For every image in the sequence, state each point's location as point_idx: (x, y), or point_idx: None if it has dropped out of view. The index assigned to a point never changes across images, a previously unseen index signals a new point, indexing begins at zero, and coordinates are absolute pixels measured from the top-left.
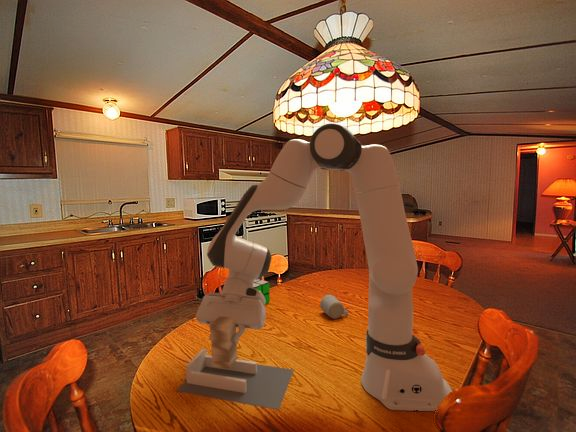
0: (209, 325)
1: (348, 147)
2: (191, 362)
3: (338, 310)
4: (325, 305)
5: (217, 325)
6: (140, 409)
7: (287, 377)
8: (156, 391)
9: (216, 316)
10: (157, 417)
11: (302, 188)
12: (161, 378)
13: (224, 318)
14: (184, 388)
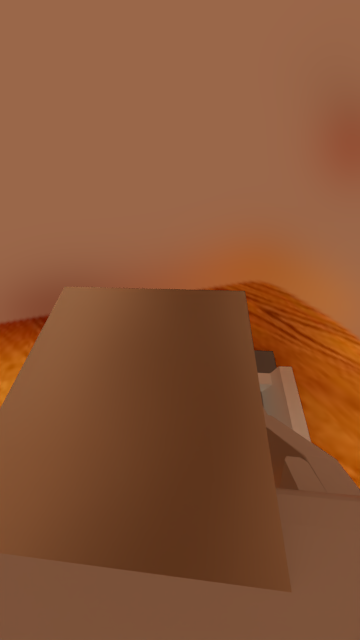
0: (335, 461)
1: None
2: (288, 386)
3: None
4: None
5: (169, 294)
6: (297, 304)
7: None
8: (317, 349)
9: (350, 586)
10: (252, 296)
11: None
12: (357, 396)
13: (136, 474)
14: (259, 362)
